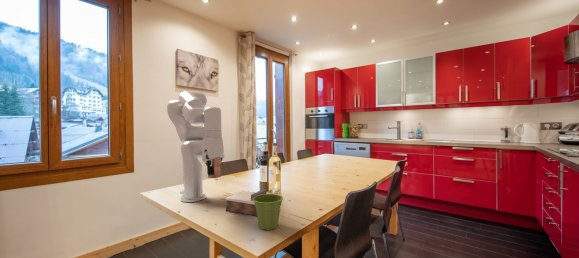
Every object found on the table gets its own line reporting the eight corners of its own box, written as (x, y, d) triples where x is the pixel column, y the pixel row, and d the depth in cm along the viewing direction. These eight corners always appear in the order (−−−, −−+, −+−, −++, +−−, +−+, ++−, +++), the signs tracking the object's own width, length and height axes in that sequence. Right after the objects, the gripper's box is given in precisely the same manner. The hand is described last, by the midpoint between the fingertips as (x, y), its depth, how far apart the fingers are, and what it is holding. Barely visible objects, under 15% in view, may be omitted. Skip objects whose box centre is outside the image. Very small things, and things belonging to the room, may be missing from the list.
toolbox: (225, 211, 110) (225, 200, 110) (242, 202, 122) (242, 193, 122) (259, 217, 102) (258, 206, 102) (273, 207, 114) (273, 197, 114)
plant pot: (289, 225, 94) (289, 197, 94) (267, 236, 85) (267, 205, 85) (269, 218, 102) (268, 191, 101) (246, 227, 93) (246, 198, 93)
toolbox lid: (225, 200, 110) (225, 192, 110) (242, 192, 122) (242, 185, 121) (258, 205, 102) (258, 197, 102) (273, 196, 114) (273, 189, 114)
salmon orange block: (207, 177, 109) (207, 156, 109) (213, 176, 113) (213, 155, 113) (214, 178, 108) (214, 156, 107) (220, 176, 111) (220, 155, 111)
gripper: (218, 133, 119) (219, 170, 119) (193, 134, 104) (194, 177, 104) (230, 133, 116) (231, 170, 116) (206, 134, 101) (207, 178, 101)
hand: (214, 173), depth 110 cm, fingers closed on salmon orange block, 4 cm apart
